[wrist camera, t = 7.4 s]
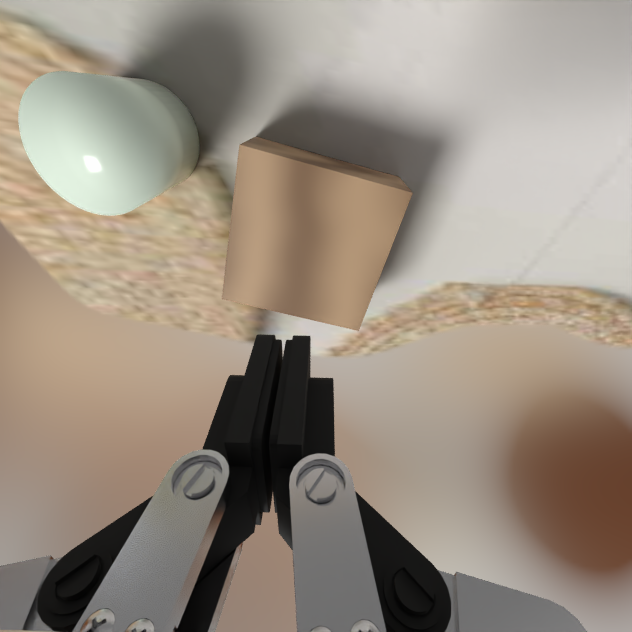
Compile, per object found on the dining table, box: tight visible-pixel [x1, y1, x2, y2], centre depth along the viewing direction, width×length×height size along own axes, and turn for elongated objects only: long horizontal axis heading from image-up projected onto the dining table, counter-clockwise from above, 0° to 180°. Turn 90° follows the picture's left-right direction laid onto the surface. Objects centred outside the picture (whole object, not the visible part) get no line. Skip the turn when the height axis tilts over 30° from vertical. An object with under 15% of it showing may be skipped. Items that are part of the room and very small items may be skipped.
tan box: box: [222, 137, 413, 331], centre depth 24 cm, size 10×10×5 cm
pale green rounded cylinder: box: [18, 71, 200, 216], centre depth 20 cm, size 6×6×7 cm
